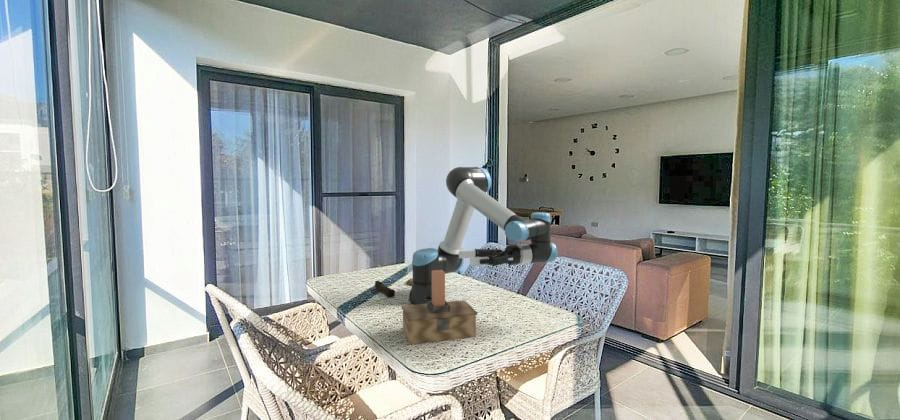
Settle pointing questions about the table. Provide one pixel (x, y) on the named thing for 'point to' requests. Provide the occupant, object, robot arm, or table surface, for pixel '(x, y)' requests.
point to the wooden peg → (438, 288)
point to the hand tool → (384, 289)
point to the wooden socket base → (438, 322)
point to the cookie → (410, 282)
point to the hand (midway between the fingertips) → (464, 258)
